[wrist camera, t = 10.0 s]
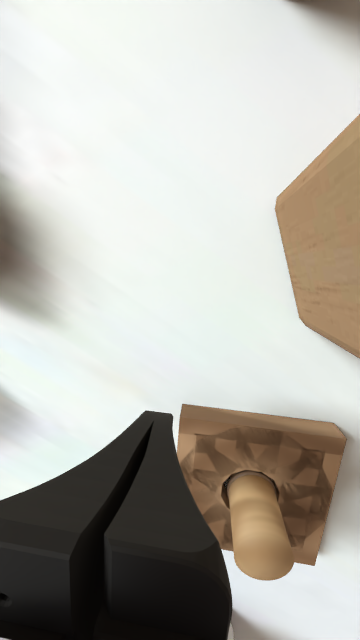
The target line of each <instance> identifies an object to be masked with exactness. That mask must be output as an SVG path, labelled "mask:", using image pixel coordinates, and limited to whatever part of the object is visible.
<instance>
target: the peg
mask: <svg viewBox="0 0 360 640" xmlns="http://www.w3.org/2000/svg"><path fill="white" fill-rule="evenodd" d="M227 495H228V498H229V504H230V515H231V527H232V538H233V549H234V559H235V562H236V565H237V566H238V568H239V569H240V570H241V571H242V572H243V573H245V574H246V575H248V576H250V577H252V578H255V579H258V580H275V579H279V578H281V577H283V576H285V575H286V574H287V573H288V572H289V571H290V570H291V569H292V567H293V564H294V556H293V552H292V549H291V546H290V542H289V539H288V535H287V532H286V529H285V525H284V522H283V518H282V515H281V512H280V508H279V505H278V501H277V498H276V490H275V487H274V484H273V482H272V480H271V479H270V478H269V477H268V476H267V475H265V474H264V473H262V472H258V471H251V470H243V471H240V472H237V473H233V474H231V475H230V480H229V482H228V484H227Z"/></svg>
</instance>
